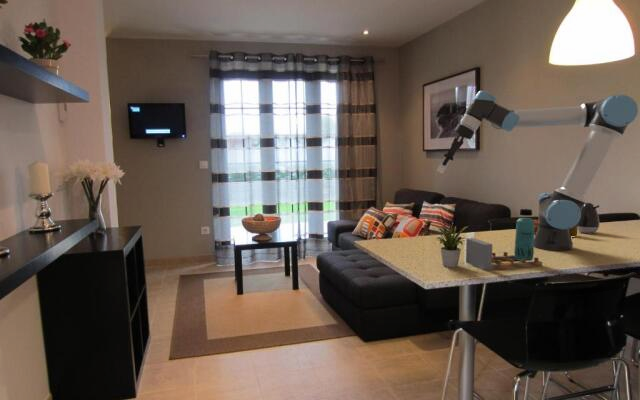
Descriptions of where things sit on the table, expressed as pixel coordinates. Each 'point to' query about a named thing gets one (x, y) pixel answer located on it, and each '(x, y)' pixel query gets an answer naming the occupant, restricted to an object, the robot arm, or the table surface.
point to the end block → (479, 253)
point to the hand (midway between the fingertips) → (439, 172)
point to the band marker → (503, 262)
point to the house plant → (450, 246)
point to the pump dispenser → (588, 219)
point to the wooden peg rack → (512, 265)
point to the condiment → (573, 230)
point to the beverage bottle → (524, 236)
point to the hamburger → (536, 226)
